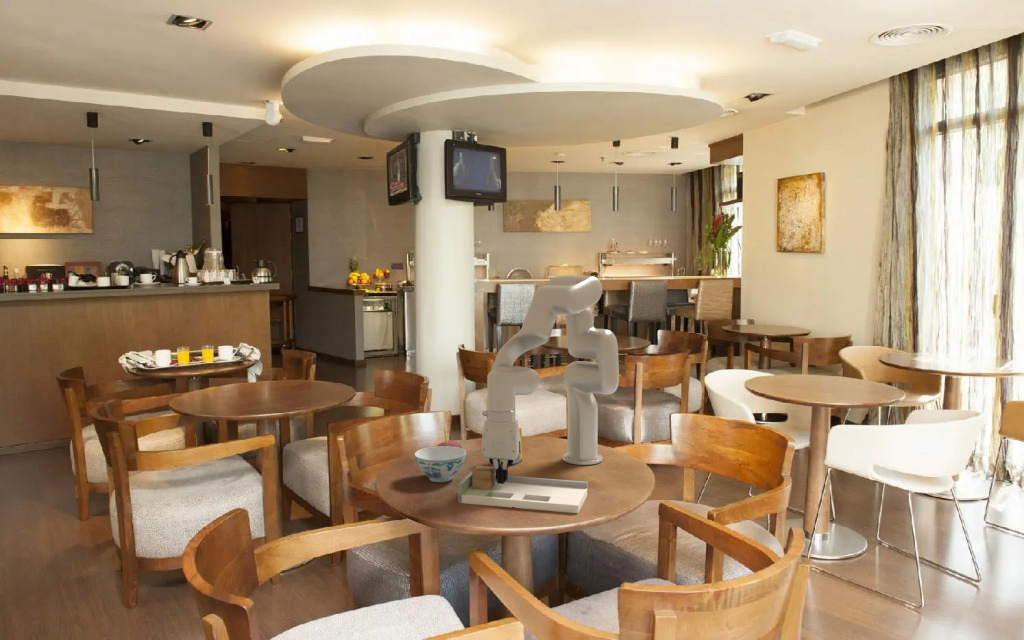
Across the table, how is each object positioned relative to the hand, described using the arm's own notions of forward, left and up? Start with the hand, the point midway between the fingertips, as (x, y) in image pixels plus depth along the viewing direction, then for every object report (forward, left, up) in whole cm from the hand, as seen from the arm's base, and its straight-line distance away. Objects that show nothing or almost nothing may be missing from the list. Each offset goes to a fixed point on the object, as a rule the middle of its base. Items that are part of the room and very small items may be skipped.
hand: (501, 482), depth 191 cm
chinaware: (-9, -21, -4) cm, 24 cm away
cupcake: (-24, -24, -4) cm, 35 cm away
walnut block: (+1, -5, -1) cm, 5 cm away
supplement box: (-30, -6, -4) cm, 31 cm away
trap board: (+2, +7, -3) cm, 8 cm away
